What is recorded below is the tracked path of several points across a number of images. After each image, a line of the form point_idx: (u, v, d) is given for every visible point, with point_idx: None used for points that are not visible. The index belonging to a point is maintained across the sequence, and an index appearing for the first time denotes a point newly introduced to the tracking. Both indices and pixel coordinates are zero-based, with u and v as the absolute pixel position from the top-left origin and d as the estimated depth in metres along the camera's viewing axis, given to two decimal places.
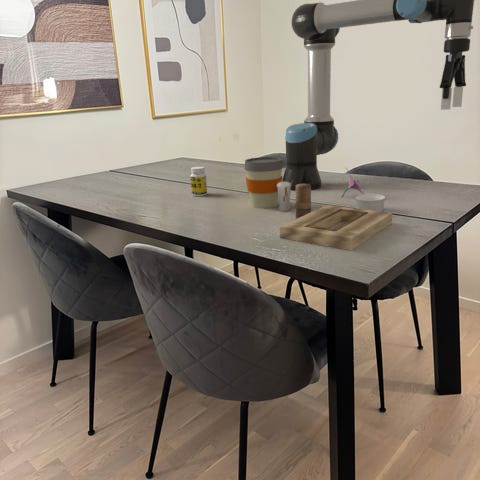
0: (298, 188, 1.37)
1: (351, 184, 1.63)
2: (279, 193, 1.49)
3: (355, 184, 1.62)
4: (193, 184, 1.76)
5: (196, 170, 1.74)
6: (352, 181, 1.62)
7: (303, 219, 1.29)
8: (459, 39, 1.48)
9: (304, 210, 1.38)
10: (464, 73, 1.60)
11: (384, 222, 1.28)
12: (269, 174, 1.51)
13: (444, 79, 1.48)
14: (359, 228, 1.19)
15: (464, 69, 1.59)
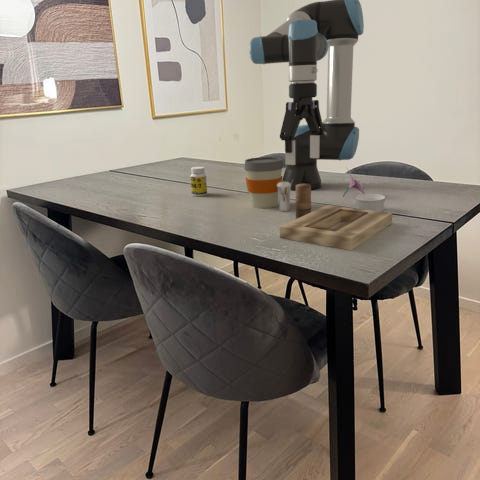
0: (298, 188, 1.37)
1: (352, 184, 1.63)
2: (279, 193, 1.49)
3: (356, 184, 1.62)
4: (193, 184, 1.76)
5: (196, 170, 1.74)
6: (353, 181, 1.62)
7: (303, 219, 1.29)
8: (301, 84, 1.26)
9: (304, 210, 1.38)
10: (320, 120, 1.38)
11: (384, 222, 1.28)
12: (269, 174, 1.51)
13: (283, 131, 1.26)
14: (359, 228, 1.19)
15: (319, 116, 1.37)
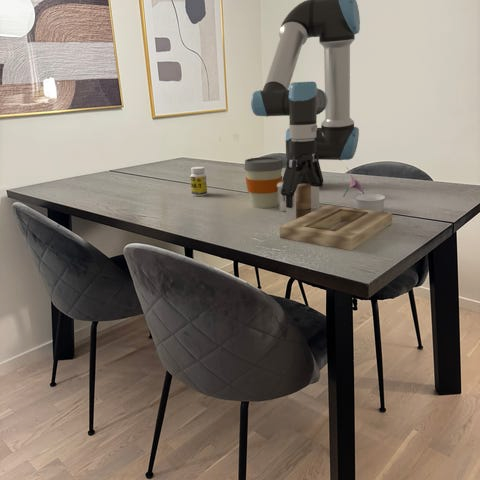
0: (298, 188, 1.37)
1: (352, 184, 1.63)
2: (279, 193, 1.49)
3: (356, 184, 1.62)
4: (193, 184, 1.76)
5: (196, 170, 1.74)
6: (353, 181, 1.62)
7: (303, 219, 1.29)
8: (301, 142, 1.31)
9: (304, 210, 1.38)
10: (320, 172, 1.43)
11: (384, 222, 1.28)
12: (269, 174, 1.51)
13: (284, 188, 1.31)
14: (359, 228, 1.19)
15: (319, 168, 1.42)
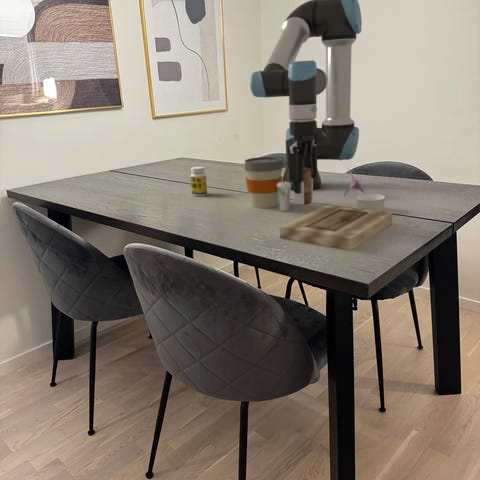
0: None
1: (353, 184, 1.63)
2: (279, 193, 1.49)
3: (357, 184, 1.62)
4: (193, 184, 1.76)
5: (196, 170, 1.74)
6: (354, 181, 1.62)
7: (303, 219, 1.29)
8: (301, 123, 1.30)
9: (304, 194, 1.37)
10: (316, 161, 1.40)
11: (384, 222, 1.28)
12: (269, 174, 1.51)
13: (291, 175, 1.33)
14: (359, 228, 1.19)
15: (316, 156, 1.40)
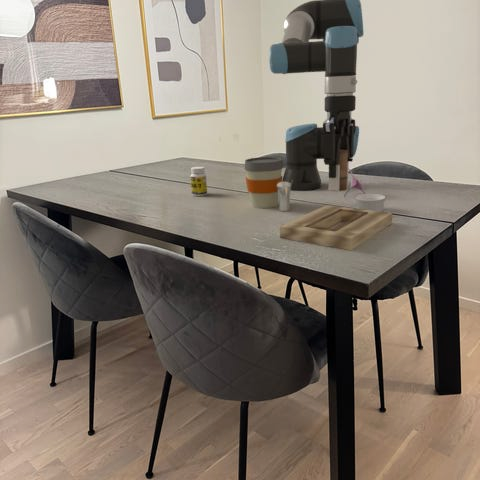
0: None
1: (353, 184, 1.64)
2: (279, 193, 1.49)
3: (357, 184, 1.63)
4: (193, 184, 1.76)
5: (196, 170, 1.74)
6: (354, 181, 1.62)
7: (303, 219, 1.29)
8: (339, 97, 1.15)
9: (340, 179, 1.22)
10: (352, 143, 1.25)
11: (384, 222, 1.28)
12: (269, 174, 1.51)
13: (327, 156, 1.18)
14: (359, 228, 1.19)
15: (352, 137, 1.25)
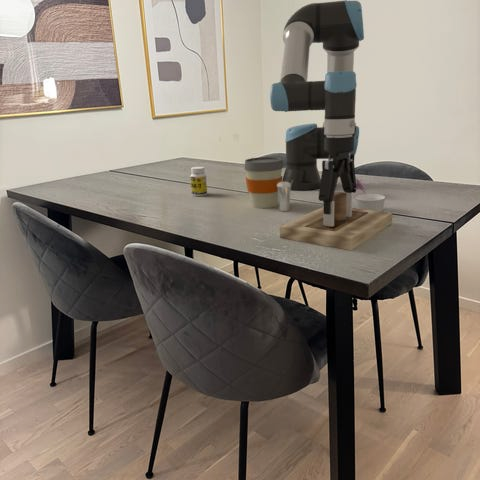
0: (333, 197, 1.24)
1: None
2: (279, 193, 1.49)
3: (358, 183, 1.63)
4: (193, 184, 1.76)
5: (196, 170, 1.74)
6: None
7: (303, 219, 1.29)
8: (338, 139, 1.18)
9: (339, 221, 1.26)
10: (354, 176, 1.29)
11: (384, 222, 1.28)
12: (269, 174, 1.51)
13: (322, 193, 1.19)
14: (359, 228, 1.19)
15: (354, 171, 1.28)
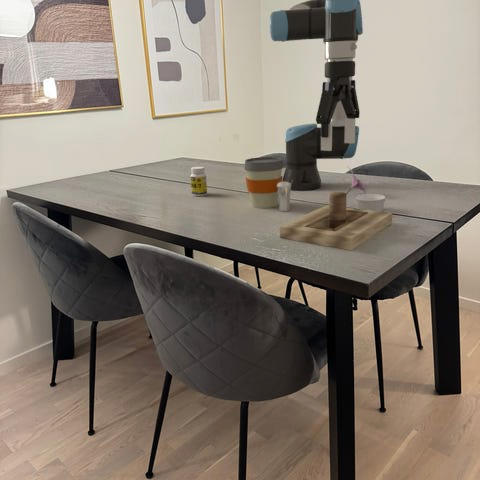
0: (333, 197, 1.24)
1: (354, 183, 1.64)
2: (279, 193, 1.49)
3: (358, 183, 1.63)
4: (193, 184, 1.76)
5: (196, 170, 1.74)
6: (355, 180, 1.63)
7: (303, 219, 1.29)
8: (339, 62, 1.16)
9: (339, 221, 1.26)
10: (356, 102, 1.28)
11: (384, 222, 1.28)
12: (269, 174, 1.51)
13: (320, 114, 1.16)
14: (359, 228, 1.19)
15: (356, 97, 1.27)
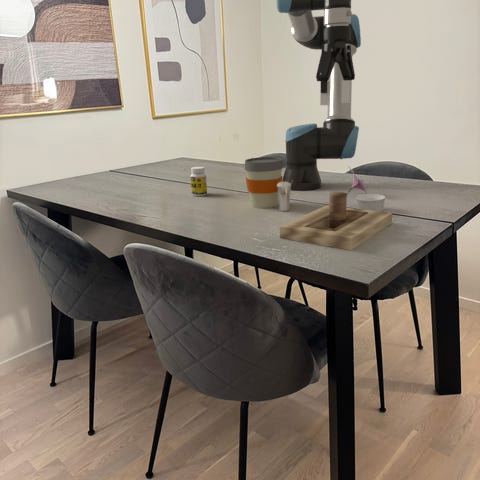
0: (333, 197, 1.24)
1: (355, 183, 1.64)
2: (279, 193, 1.49)
3: (359, 183, 1.63)
4: (193, 184, 1.76)
5: (196, 170, 1.74)
6: (356, 180, 1.63)
7: (303, 219, 1.29)
8: (336, 26, 1.33)
9: (339, 221, 1.26)
10: (352, 65, 1.44)
11: (384, 222, 1.28)
12: (269, 174, 1.51)
13: (319, 71, 1.33)
14: (359, 228, 1.19)
15: (351, 61, 1.44)
